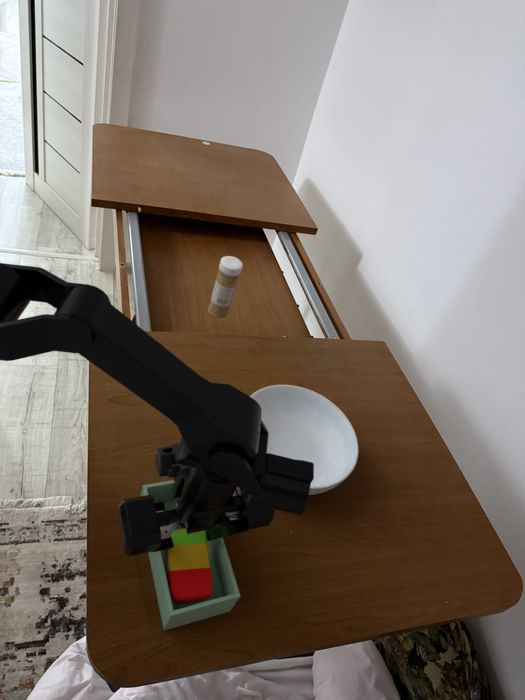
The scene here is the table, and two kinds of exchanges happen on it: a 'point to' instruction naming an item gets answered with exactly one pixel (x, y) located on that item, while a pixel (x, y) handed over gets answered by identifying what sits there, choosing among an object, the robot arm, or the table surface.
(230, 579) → the bin
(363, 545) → the table surface
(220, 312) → the sprinkles bottle
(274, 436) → the serving bowl
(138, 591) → the table surface
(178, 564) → the popsicle
